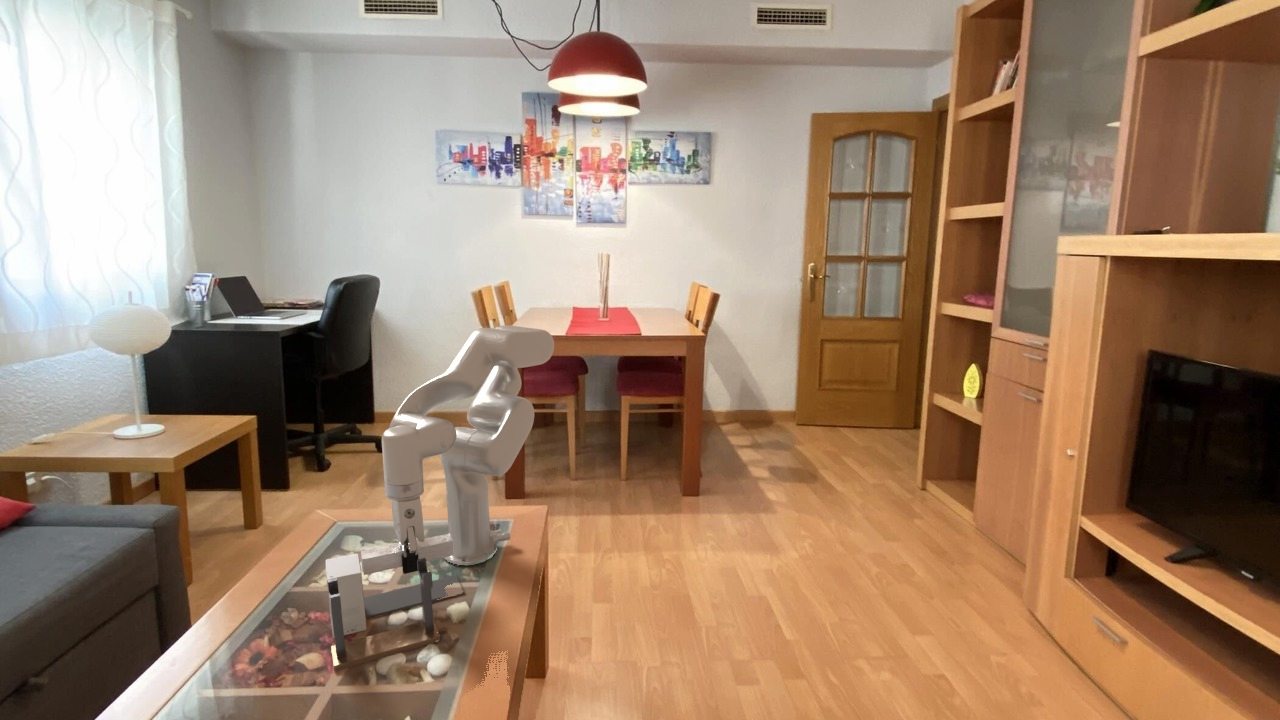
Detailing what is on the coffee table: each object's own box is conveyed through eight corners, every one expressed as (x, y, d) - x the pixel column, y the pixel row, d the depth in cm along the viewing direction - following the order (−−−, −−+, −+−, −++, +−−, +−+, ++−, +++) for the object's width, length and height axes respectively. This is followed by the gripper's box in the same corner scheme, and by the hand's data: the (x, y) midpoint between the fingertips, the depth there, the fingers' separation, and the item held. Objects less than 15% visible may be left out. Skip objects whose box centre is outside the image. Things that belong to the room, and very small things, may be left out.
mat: (456, 577, 156) (456, 574, 155) (464, 593, 150) (464, 591, 149) (361, 600, 147) (361, 598, 146) (365, 619, 141) (365, 616, 140)
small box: (367, 630, 137) (361, 572, 134) (332, 639, 135) (325, 580, 131) (364, 607, 144) (358, 552, 141) (330, 615, 142) (324, 559, 138)
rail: (449, 548, 151) (449, 533, 150) (453, 555, 148) (453, 540, 147) (361, 566, 143) (360, 551, 142) (363, 574, 140) (362, 559, 139)
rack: (433, 623, 140) (429, 556, 136) (440, 641, 134) (435, 572, 130) (331, 651, 131) (323, 581, 127) (334, 671, 126) (325, 599, 122)
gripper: (431, 499, 136) (435, 582, 140) (415, 468, 150) (420, 545, 154) (391, 506, 132) (396, 591, 137) (379, 474, 146) (384, 552, 151)
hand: (409, 566), depth 145 cm, fingers closed on rail, 3 cm apart
